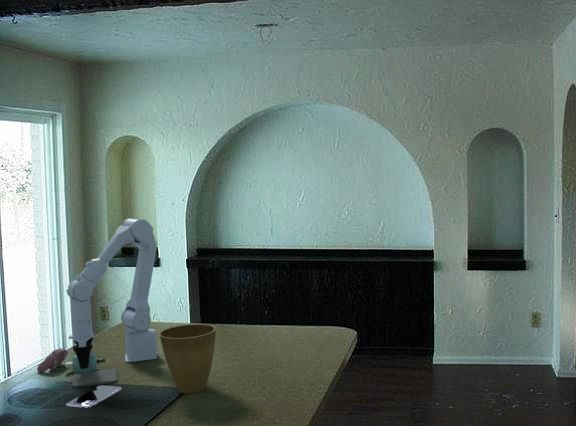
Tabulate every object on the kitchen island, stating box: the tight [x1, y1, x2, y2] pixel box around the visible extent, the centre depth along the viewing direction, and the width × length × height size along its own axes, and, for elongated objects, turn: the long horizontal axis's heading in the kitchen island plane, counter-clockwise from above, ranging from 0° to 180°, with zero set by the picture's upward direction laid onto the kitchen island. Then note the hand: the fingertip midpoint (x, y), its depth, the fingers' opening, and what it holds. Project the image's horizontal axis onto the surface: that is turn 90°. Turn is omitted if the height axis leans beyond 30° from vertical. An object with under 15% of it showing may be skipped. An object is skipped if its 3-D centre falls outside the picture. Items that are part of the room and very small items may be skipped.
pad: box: [71, 367, 118, 389], centre depth 190 cm, size 12×12×1 cm
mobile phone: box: [65, 384, 122, 409], centre depth 175 cm, size 8×1×15 cm
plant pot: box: [159, 323, 217, 394], centre depth 177 cm, size 15×15×16 cm
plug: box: [65, 352, 106, 374], centre depth 199 cm, size 11×4×4 cm, turn 106°
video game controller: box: [36, 347, 69, 374], centre depth 202 cm, size 10×5×7 cm, turn 169°
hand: (84, 364), depth 199 cm, fingers open, 7 cm apart
